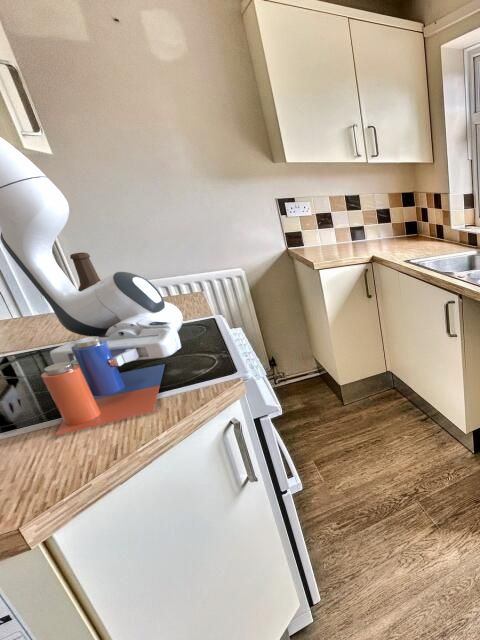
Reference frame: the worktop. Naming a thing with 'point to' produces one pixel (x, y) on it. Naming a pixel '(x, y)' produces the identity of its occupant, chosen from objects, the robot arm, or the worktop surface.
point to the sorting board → (125, 399)
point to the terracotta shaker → (70, 393)
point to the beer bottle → (85, 272)
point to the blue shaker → (97, 366)
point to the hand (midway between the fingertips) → (94, 365)
